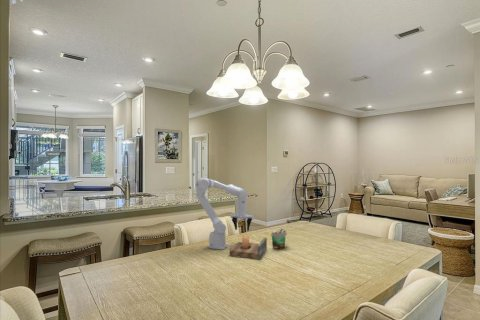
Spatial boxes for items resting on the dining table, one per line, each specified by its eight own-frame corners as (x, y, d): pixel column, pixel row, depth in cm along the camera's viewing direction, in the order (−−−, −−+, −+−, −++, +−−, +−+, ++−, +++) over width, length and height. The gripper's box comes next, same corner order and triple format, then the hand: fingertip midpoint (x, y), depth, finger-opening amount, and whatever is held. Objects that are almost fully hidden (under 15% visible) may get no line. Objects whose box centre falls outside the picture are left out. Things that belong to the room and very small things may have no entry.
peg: (241, 253, 150) (241, 237, 150) (243, 251, 154) (243, 235, 154) (247, 254, 149) (247, 238, 149) (250, 251, 152) (250, 236, 152)
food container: (280, 251, 153) (280, 234, 153) (271, 249, 156) (271, 232, 156) (290, 246, 162) (290, 229, 162) (281, 244, 166) (281, 228, 166)
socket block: (229, 255, 146) (229, 243, 146) (238, 246, 161) (238, 235, 161) (260, 259, 141) (260, 246, 141) (266, 249, 156) (266, 237, 156)
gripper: (229, 208, 163) (229, 230, 163) (252, 209, 159) (252, 232, 159) (232, 206, 170) (232, 228, 170) (254, 207, 166) (254, 229, 166)
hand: (242, 229), depth 165 cm, fingers open, 7 cm apart
